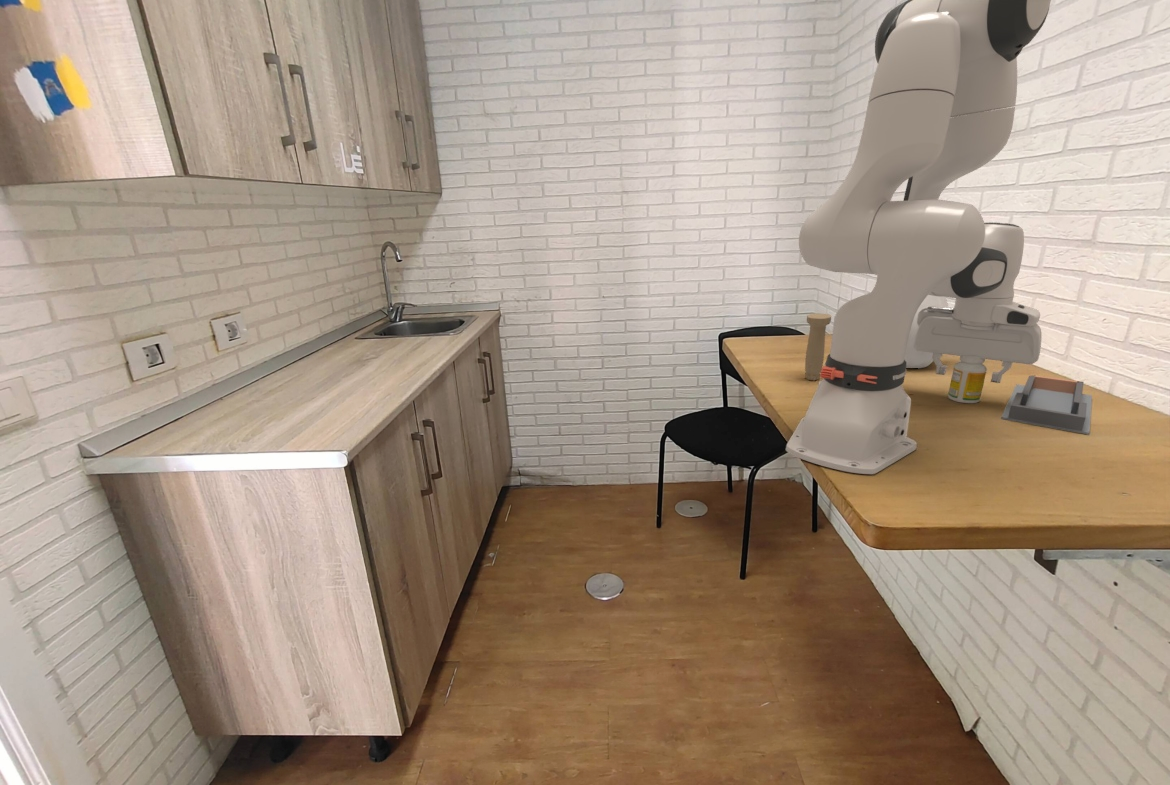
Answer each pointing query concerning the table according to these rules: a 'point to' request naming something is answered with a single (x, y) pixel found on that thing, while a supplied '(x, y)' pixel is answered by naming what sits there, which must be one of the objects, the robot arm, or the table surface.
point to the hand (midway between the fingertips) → (967, 377)
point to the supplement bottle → (967, 380)
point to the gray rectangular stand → (1050, 404)
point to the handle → (816, 345)
